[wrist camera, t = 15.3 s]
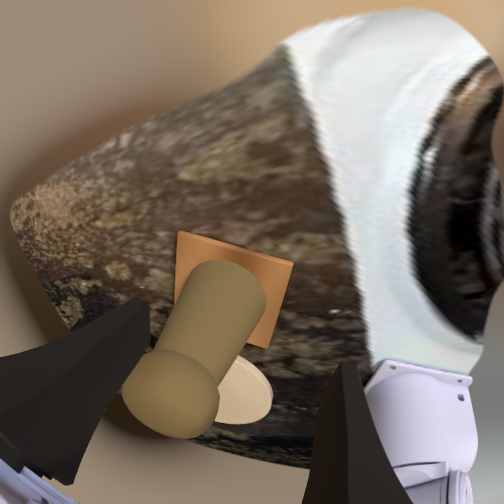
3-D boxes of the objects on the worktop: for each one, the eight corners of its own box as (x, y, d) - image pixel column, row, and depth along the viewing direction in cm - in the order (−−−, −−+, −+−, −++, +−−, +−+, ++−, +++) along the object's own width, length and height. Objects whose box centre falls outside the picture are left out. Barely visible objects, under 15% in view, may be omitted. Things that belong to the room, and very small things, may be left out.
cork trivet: (294, 261, 21) (292, 265, 20) (269, 344, 25) (267, 349, 25) (180, 229, 22) (177, 232, 22) (176, 314, 26) (173, 318, 26)
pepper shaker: (219, 336, 25) (161, 452, 16) (171, 279, 24) (86, 387, 14) (282, 313, 22) (239, 451, 13) (232, 245, 21) (149, 373, 12)
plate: (287, 366, 26) (285, 373, 25) (260, 429, 32) (258, 435, 31) (155, 323, 27) (151, 329, 27) (160, 394, 34) (157, 399, 33)
